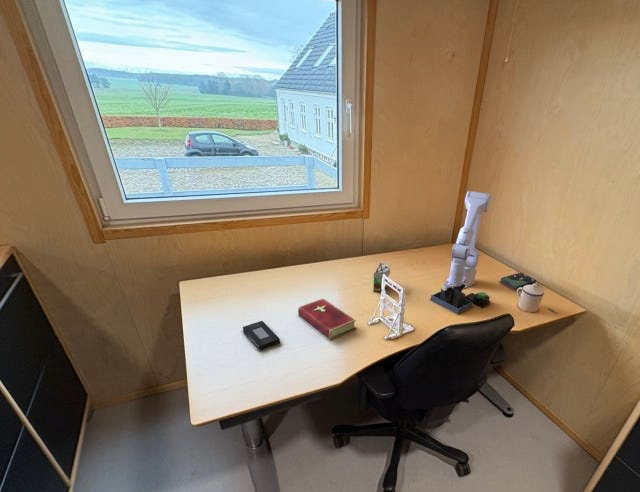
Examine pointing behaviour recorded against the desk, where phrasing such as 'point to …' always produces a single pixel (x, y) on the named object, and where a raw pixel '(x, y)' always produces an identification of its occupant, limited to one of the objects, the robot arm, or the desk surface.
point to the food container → (380, 277)
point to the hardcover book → (327, 318)
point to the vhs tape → (261, 335)
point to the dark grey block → (454, 298)
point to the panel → (478, 300)
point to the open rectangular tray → (466, 305)
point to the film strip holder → (392, 311)
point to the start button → (482, 295)
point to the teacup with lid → (530, 297)
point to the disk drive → (517, 281)
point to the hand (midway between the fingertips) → (451, 300)
